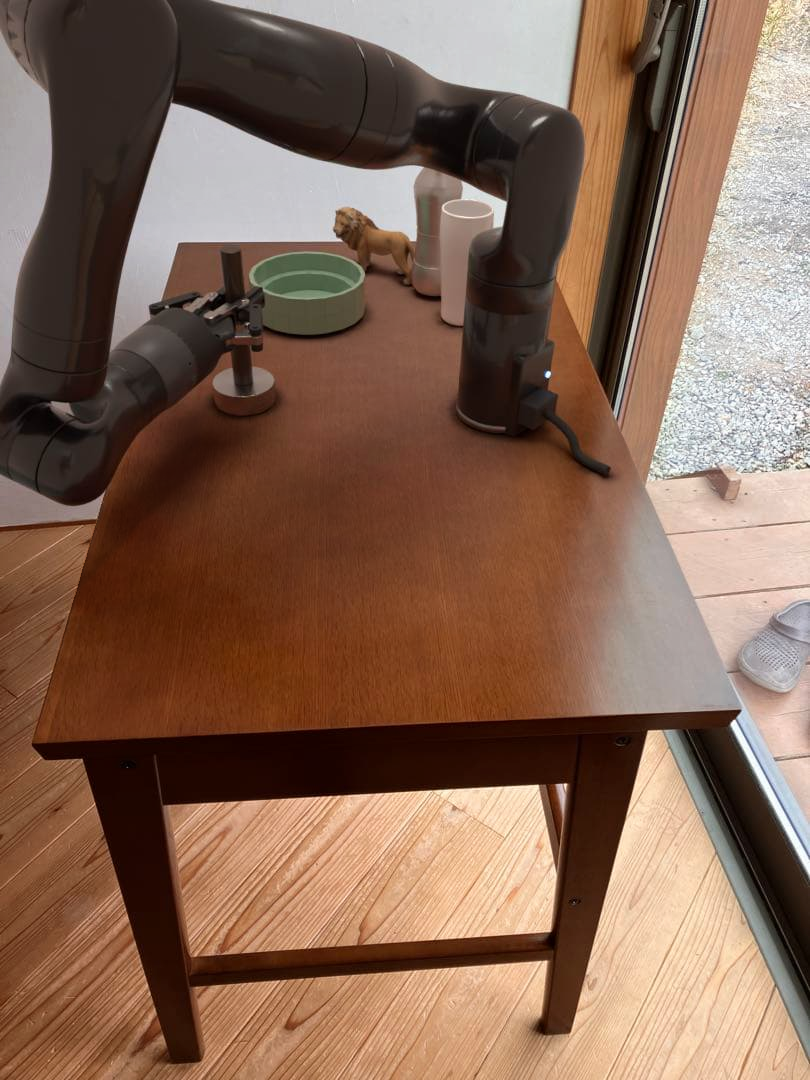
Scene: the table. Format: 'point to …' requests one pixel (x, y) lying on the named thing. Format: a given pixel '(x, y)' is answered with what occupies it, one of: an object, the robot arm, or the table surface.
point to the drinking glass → (459, 251)
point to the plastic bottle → (430, 227)
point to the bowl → (310, 292)
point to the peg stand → (240, 354)
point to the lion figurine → (372, 240)
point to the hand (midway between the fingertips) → (248, 292)
